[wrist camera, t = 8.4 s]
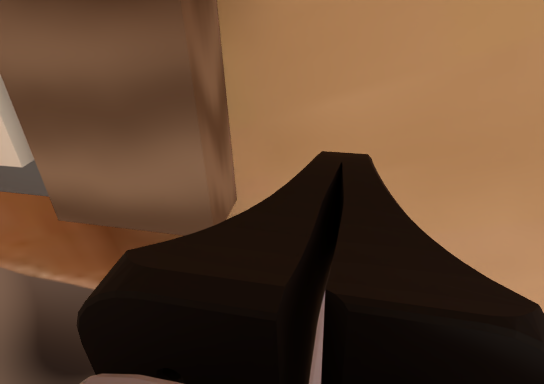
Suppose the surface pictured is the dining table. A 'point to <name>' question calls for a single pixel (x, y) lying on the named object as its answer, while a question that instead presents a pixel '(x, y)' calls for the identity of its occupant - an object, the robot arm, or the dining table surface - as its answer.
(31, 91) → the deck
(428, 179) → the dining table surface
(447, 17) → the dining table surface
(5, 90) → the beige flat block
